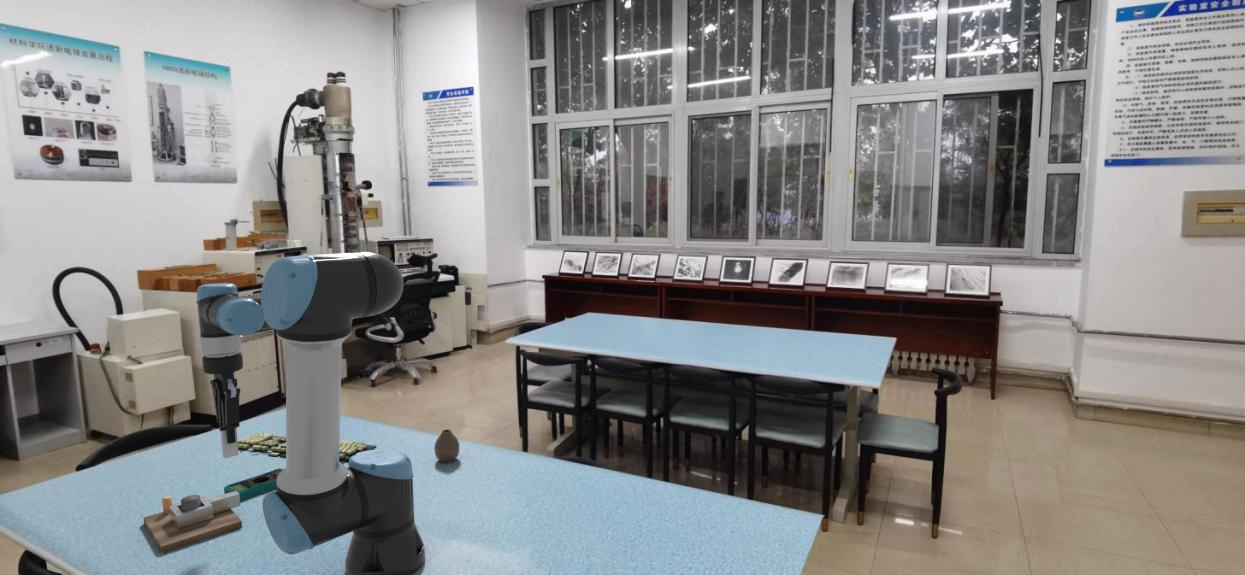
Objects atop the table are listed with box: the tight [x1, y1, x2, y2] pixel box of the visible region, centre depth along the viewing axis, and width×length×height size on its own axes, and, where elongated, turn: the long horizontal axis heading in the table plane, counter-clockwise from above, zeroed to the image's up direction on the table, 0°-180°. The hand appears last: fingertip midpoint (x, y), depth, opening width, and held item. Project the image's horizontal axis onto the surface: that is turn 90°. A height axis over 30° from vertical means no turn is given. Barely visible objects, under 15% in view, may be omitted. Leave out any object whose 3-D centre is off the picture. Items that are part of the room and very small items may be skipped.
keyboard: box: [237, 432, 378, 465], centre depth 188 cm, size 45×15×2 cm, turn 76°
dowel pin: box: [161, 495, 173, 514], centre depth 146 cm, size 2×2×4 cm
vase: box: [433, 428, 460, 463], centre depth 180 cm, size 7×7×9 cm
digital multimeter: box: [223, 468, 284, 502], centre depth 162 cm, size 7×15×3 cm, turn 145°
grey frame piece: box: [170, 491, 241, 529], centre depth 145 cm, size 13×7×3 cm, turn 137°
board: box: [143, 494, 243, 554], centre depth 143 cm, size 18×15×6 cm
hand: (230, 455), depth 141 cm, fingers closed
